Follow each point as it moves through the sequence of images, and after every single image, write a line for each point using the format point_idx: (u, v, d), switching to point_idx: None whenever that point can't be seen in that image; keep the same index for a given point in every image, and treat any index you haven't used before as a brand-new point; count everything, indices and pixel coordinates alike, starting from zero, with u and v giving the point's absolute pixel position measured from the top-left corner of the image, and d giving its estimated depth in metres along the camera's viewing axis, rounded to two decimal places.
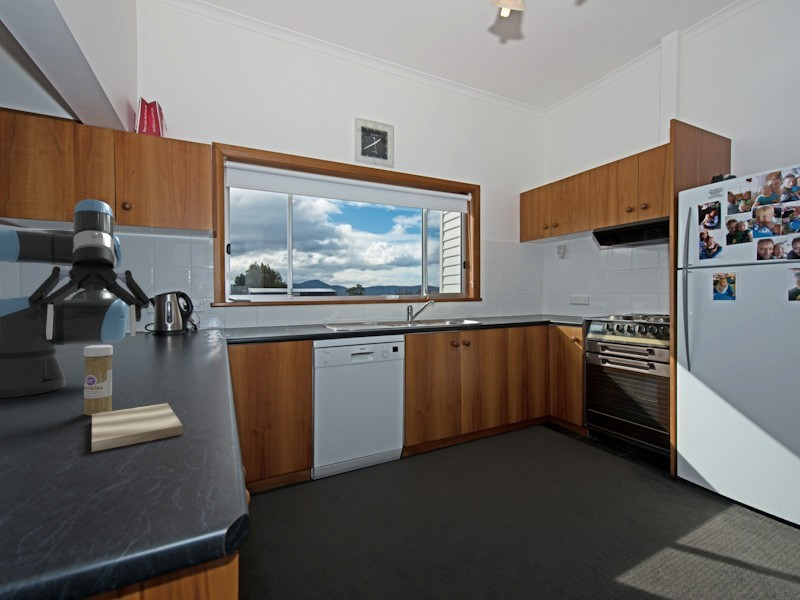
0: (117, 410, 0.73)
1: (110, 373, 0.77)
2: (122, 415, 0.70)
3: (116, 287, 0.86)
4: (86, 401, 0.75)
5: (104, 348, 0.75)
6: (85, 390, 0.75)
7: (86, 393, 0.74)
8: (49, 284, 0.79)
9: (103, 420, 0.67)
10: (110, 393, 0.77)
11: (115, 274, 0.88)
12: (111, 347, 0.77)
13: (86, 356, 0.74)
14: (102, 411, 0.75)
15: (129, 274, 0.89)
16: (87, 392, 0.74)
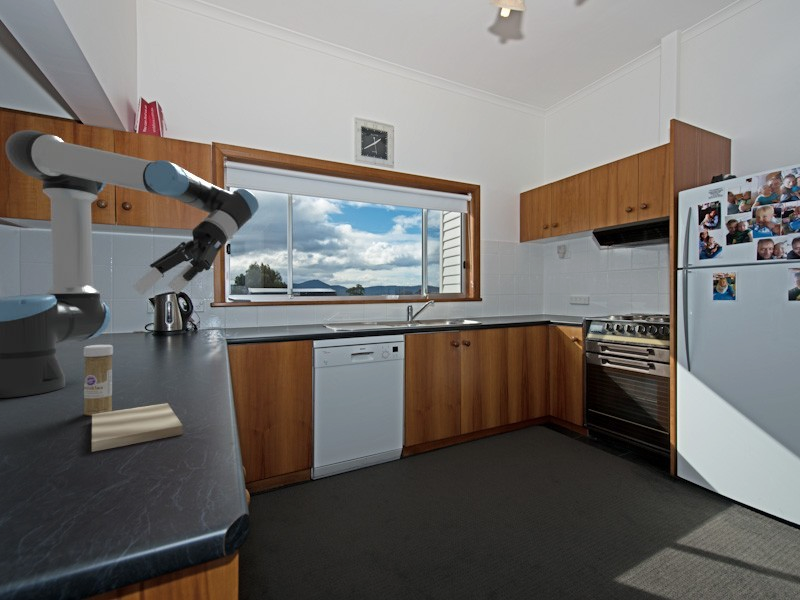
0: (117, 410, 0.73)
1: (110, 373, 0.77)
2: (122, 415, 0.70)
3: None
4: (86, 401, 0.75)
5: (104, 348, 0.75)
6: (85, 390, 0.75)
7: (86, 393, 0.74)
8: None
9: (103, 420, 0.67)
10: (110, 393, 0.77)
11: None
12: (111, 347, 0.77)
13: (86, 356, 0.74)
14: (102, 411, 0.75)
15: None
16: (87, 392, 0.74)
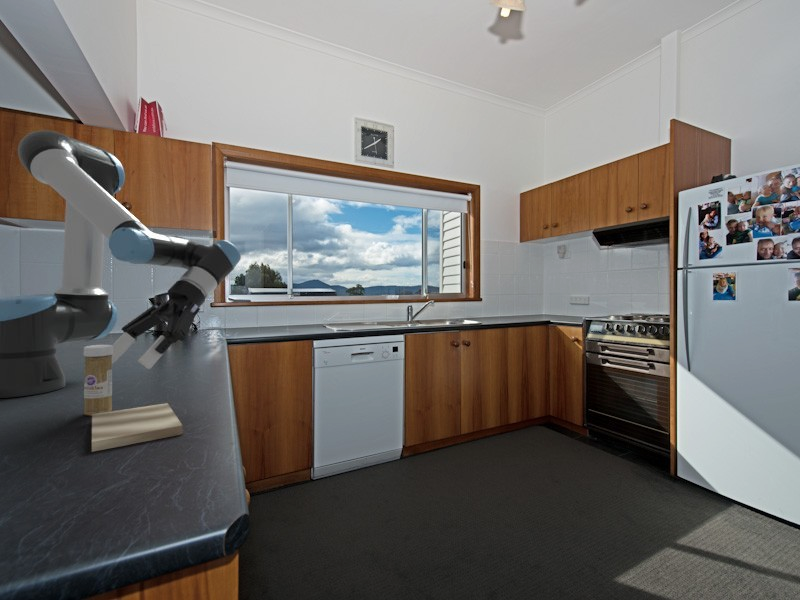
0: (117, 410, 0.73)
1: (110, 373, 0.77)
2: (122, 415, 0.70)
3: None
4: (86, 401, 0.75)
5: (104, 348, 0.75)
6: (85, 390, 0.75)
7: (86, 393, 0.74)
8: None
9: (103, 420, 0.67)
10: (110, 393, 0.77)
11: None
12: (111, 347, 0.77)
13: (86, 356, 0.74)
14: (102, 411, 0.75)
15: None
16: (87, 392, 0.74)
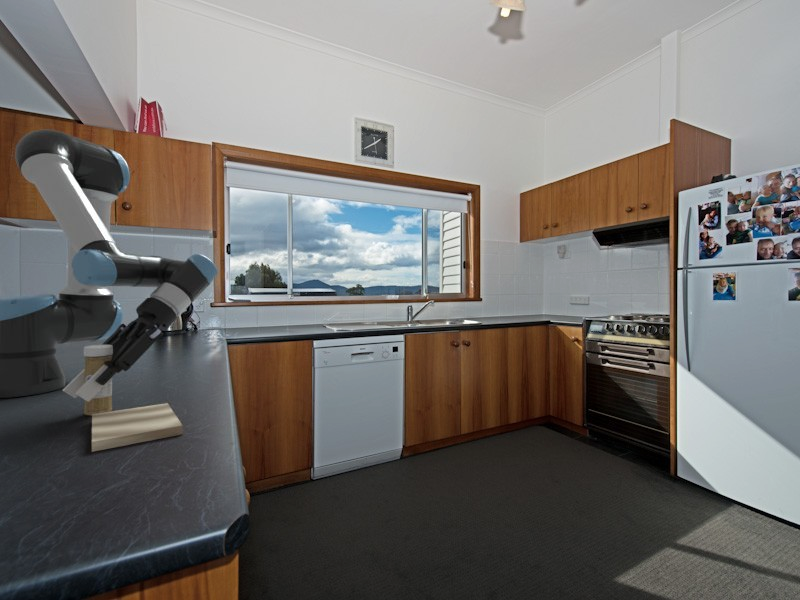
0: (117, 410, 0.73)
1: None
2: (122, 415, 0.70)
3: None
4: (86, 401, 0.75)
5: (104, 348, 0.75)
6: None
7: None
8: None
9: (103, 420, 0.67)
10: (110, 393, 0.77)
11: None
12: (111, 347, 0.77)
13: (86, 356, 0.74)
14: (102, 411, 0.75)
15: None
16: None
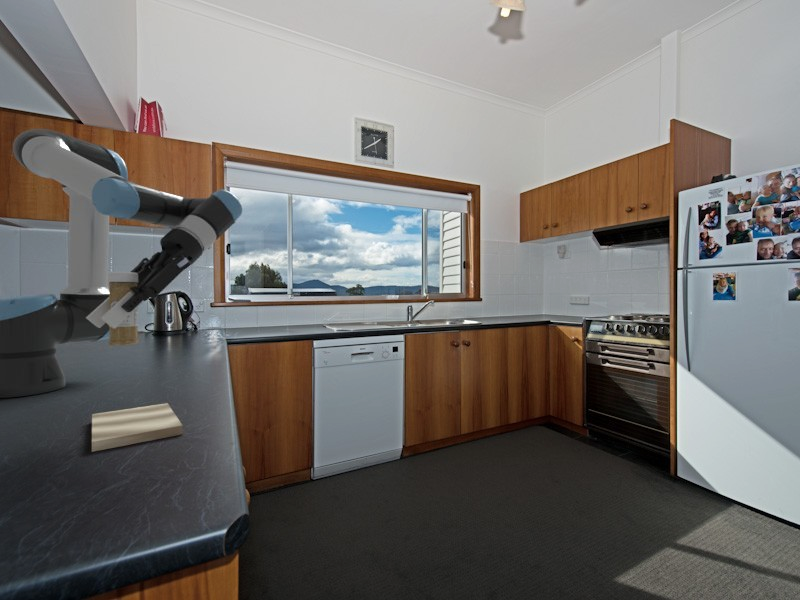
0: (117, 410, 0.73)
1: None
2: (122, 415, 0.70)
3: None
4: (111, 330, 0.69)
5: (130, 273, 0.70)
6: None
7: None
8: None
9: (103, 420, 0.67)
10: (136, 323, 0.72)
11: None
12: (137, 275, 0.72)
13: (111, 281, 0.69)
14: (128, 341, 0.70)
15: None
16: None
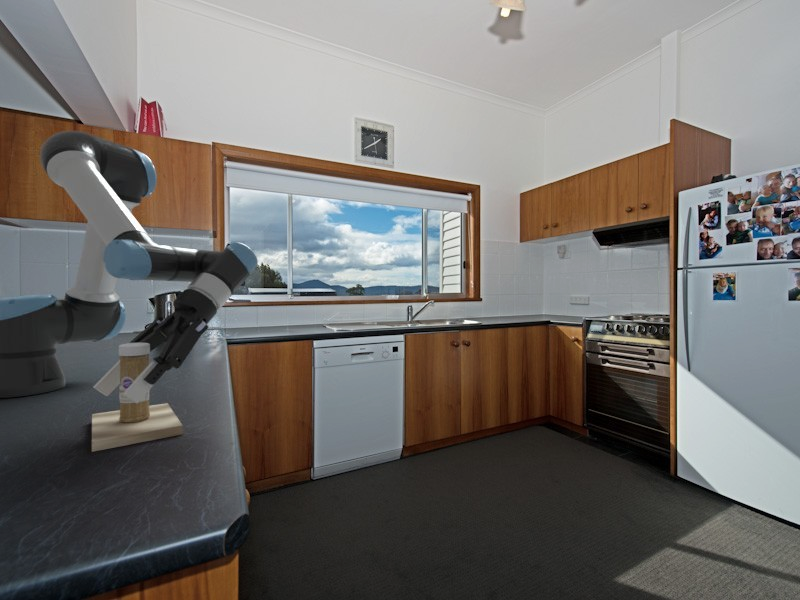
0: (117, 410, 0.73)
1: None
2: None
3: None
4: (122, 407, 0.66)
5: (142, 346, 0.67)
6: (121, 394, 0.66)
7: (122, 397, 0.66)
8: None
9: (103, 420, 0.67)
10: (148, 397, 0.68)
11: None
12: (149, 346, 0.69)
13: (122, 355, 0.66)
14: (140, 417, 0.67)
15: None
16: (123, 396, 0.66)
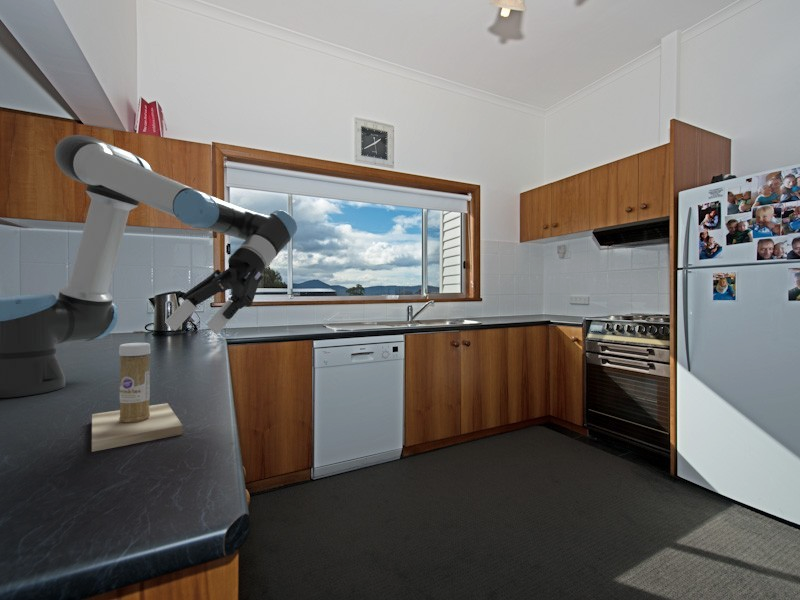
0: (117, 410, 0.73)
1: (148, 374, 0.68)
2: None
3: None
4: (122, 407, 0.66)
5: (142, 346, 0.67)
6: (121, 394, 0.66)
7: (122, 397, 0.66)
8: None
9: (103, 420, 0.67)
10: (148, 397, 0.68)
11: None
12: (149, 346, 0.69)
13: (122, 355, 0.66)
14: (140, 417, 0.67)
15: None
16: (123, 396, 0.66)
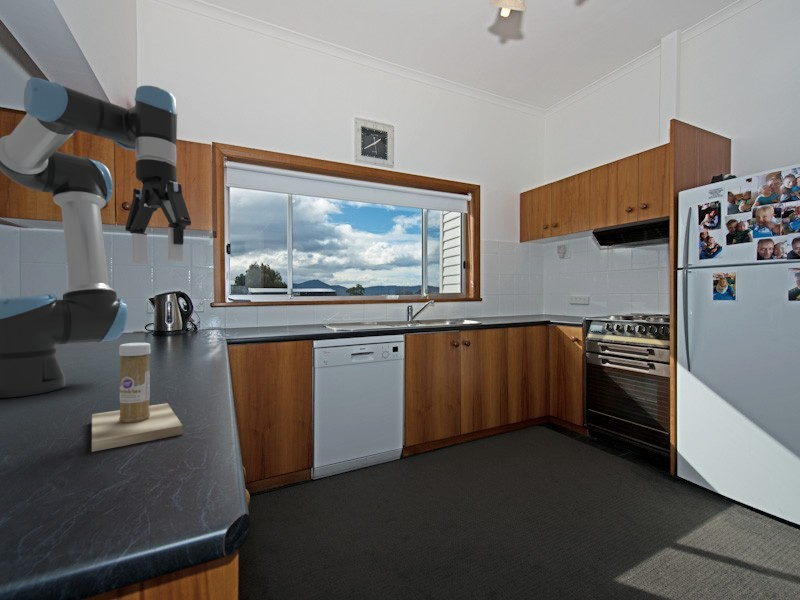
0: (117, 410, 0.73)
1: (148, 374, 0.68)
2: None
3: None
4: (122, 407, 0.66)
5: (142, 346, 0.67)
6: (121, 394, 0.66)
7: (122, 397, 0.66)
8: None
9: (103, 420, 0.67)
10: (148, 397, 0.68)
11: None
12: (149, 346, 0.69)
13: (122, 355, 0.66)
14: (140, 417, 0.67)
15: None
16: (123, 396, 0.66)
